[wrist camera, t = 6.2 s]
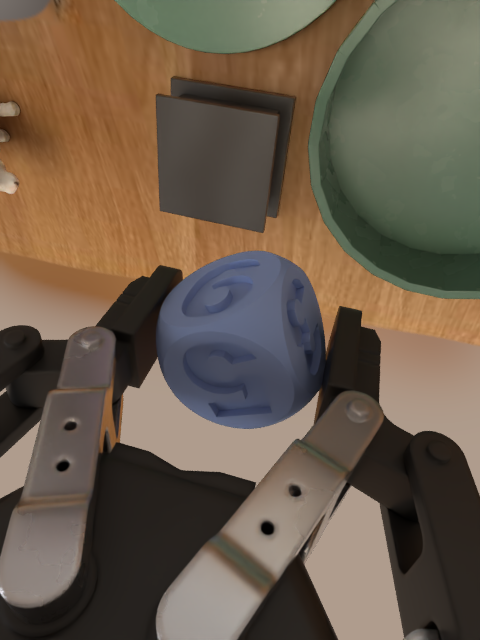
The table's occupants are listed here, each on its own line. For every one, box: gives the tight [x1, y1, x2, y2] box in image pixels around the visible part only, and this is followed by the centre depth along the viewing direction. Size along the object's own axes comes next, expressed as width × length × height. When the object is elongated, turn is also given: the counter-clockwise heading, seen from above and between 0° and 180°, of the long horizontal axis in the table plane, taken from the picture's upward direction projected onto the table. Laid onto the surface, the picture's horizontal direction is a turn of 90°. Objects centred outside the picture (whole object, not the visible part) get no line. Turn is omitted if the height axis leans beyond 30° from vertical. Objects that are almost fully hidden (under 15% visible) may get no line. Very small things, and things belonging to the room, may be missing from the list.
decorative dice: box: [156, 251, 326, 429], centre depth 14 cm, size 4×4×4 cm
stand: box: [156, 77, 296, 233], centre depth 29 cm, size 8×8×4 cm
